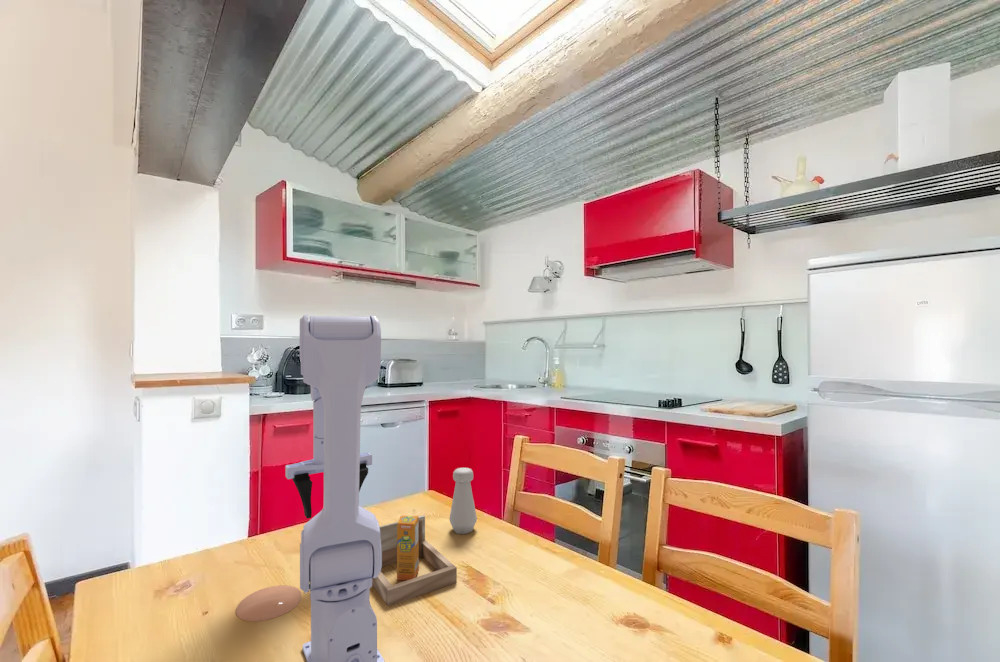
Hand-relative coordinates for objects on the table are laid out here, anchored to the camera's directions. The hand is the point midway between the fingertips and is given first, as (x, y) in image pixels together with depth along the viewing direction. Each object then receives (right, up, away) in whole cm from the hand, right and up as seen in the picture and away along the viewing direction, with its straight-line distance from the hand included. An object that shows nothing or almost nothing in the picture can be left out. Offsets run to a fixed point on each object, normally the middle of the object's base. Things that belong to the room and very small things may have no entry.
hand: (330, 511), depth 81 cm
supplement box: (+14, -11, -2) cm, 18 cm away
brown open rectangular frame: (+14, -10, -2) cm, 18 cm away
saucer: (-6, -10, -10) cm, 16 cm away
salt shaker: (+22, -11, +16) cm, 29 cm away
